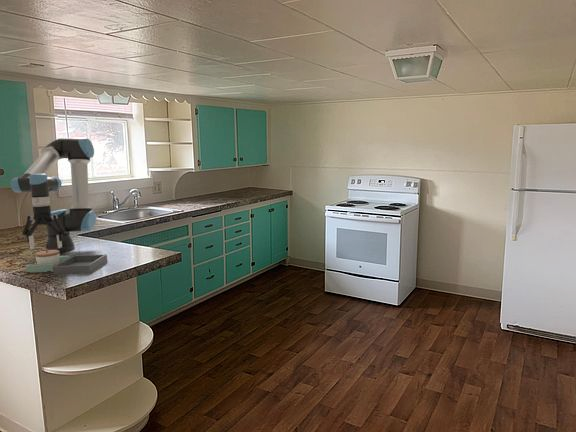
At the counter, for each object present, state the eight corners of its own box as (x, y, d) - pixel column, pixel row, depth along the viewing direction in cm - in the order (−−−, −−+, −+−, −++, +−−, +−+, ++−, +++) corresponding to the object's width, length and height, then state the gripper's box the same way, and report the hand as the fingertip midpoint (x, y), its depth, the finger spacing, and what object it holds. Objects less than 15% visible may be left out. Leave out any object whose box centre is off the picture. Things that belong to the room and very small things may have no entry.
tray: (53, 275, 208) (52, 266, 208) (74, 263, 229) (73, 255, 228) (90, 273, 208) (89, 265, 208) (107, 261, 229) (106, 254, 228)
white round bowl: (64, 266, 223) (62, 248, 221) (41, 271, 215) (39, 252, 214) (56, 263, 230) (53, 245, 229) (33, 268, 222) (31, 249, 221)
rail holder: (26, 272, 214) (25, 265, 214) (45, 263, 231) (44, 256, 230) (53, 271, 214) (52, 264, 214) (70, 262, 231) (69, 255, 230)
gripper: (11, 207, 214) (16, 250, 217) (63, 205, 214) (68, 248, 217) (20, 205, 221) (25, 247, 224) (70, 203, 221) (75, 245, 224)
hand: (46, 248), depth 221 cm, fingers open, 13 cm apart
